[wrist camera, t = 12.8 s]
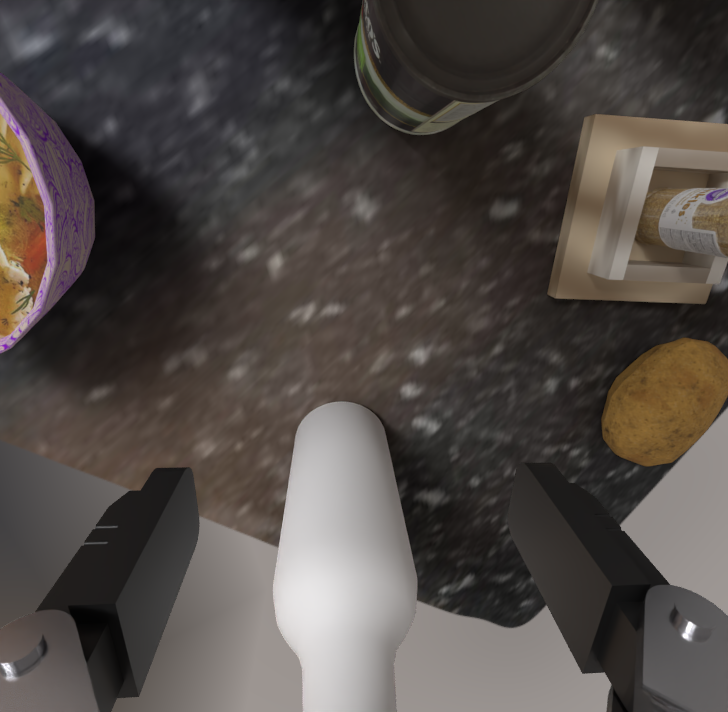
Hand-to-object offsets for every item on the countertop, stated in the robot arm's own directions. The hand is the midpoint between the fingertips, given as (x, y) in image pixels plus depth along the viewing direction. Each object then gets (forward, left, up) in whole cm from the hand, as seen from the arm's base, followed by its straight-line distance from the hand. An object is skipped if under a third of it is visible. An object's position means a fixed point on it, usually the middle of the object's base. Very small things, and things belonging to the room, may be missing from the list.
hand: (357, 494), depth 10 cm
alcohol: (+16, +1, -28) cm, 32 cm away
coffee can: (-16, +6, -28) cm, 33 cm away
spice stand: (-6, +26, -28) cm, 38 cm away
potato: (+9, +30, -28) cm, 42 cm away
